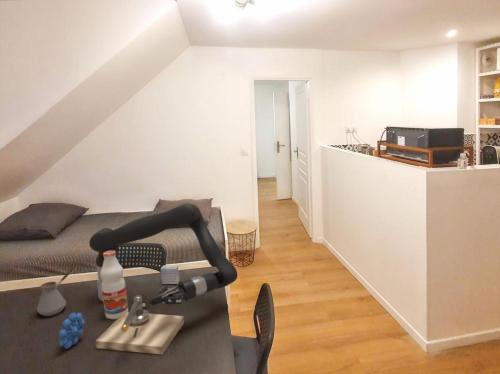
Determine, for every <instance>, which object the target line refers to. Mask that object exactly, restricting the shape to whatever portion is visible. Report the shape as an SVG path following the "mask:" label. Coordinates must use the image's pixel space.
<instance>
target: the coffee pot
mask: <svg viewBox="0 0 500 374" xmlns="http://www.w3.org/2000/svg"><path fill="white" fill-rule="evenodd" d="M73 270H74V271H76V267H75V266H72V267H71V269H69V270H68V271H67V272H66V273H65V274H64V275H63V276H62V278H61V279H60V281H59V282H57V281H47V282H44V283H42V284H41V285H40V286H39V288H40V289H41V294H40V297H39V301H38V304H37V308H36V311H37V312H38V314H40V315H42V316H44V317H51V316H55V315H58V314H59V313H61V312H62V311H63V310H64V309H65V307H66V305H67V300H66V299H65V298H64V297H63V295H62V294H61V293H60V291H59V290H58V287H59V286H60V284H62V282H63V281H64V280H65V279H66V278H67V277H68V276H69V275H70V274H71V272H73Z"/></svg>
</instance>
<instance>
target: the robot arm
mask: <svg viewBox="0 0 500 374" xmlns="http://www.w3.org/2000/svg"><path fill="white" fill-rule="evenodd" d="M179 226H189V228H190V229H191V230H192V231H193V233H194V234H195V236H196V238H197V241H198V244H199V246H200V249H201V252H202V254H203V255H204V258H205V259H206V261H207V262H208V263H209V265H210V267H213V268H216V269H217V270H218V271H217V272H212V273H211V272H210V273H206V274H202V275H199V276H194V277H192V278H189V279H188V278H187V279H185V280H183V281H182V280H181V281H179V282H178V284H177V286H173V287H169V285H165V286H164V287H163V288H162V289H161V290H160V291H159V292H158V295H157V296H155V297H151V298H150V299H149V303H150V305H151V306H156V305H158V304H161V303H162V304H165V305H181V304H182V301H184V302H186V301H189V300H192V299H195V298H197V297H198V298H199V297H200V296H202V295H204V294H206V293H208V292H209V293H210V292H212V291H214V290H218V289H221V288H225V287H227V286H230V285H231V284H233V283H234V282H236V281H237V279H238V275H239V274H238V271H237V269H236V267H235V266H234V264H233V263H232V262H231V261H230V260H229V259H228V258H227V257H226V256H225V255H224V254H223V251H222V250H221V248H220V247H219V246H218V244H217V242H216V241H215V239H214V237H213V236H212V234H211V232H210V230H209V228H208V226H207V224H206V222H205V219H204V216H203V213H202V212H201V210H200V208H199V206H197V205H196V204H194V203H193V204H192V203H183V204H182V203H181V204H180V205H178V206H175V207H174V208H171V209H168V210H167V211H164V212H160V213H154V214H151V215H150V214H149V215H146V216H144V217H140V218H137V219H134V220H132V221H128V223H125V224H124V225H122V226H119V227H117V228H115V229H111V228H109V227H104V228H102V229H100V230H98V231H97V232H95V233H94V234H93V235H92V236H91V237H90V238H89V240H88V241H89V243H88V244H89V247H90V249H92V251H94V252H96V253H98V254H97V257H96V259H95V265H96V270H97V271H96V272H97V280H96V288H97V294H98V300H99V301H101V302H103V295H102V286H101V285H102V279H101V276H100V271H101V269H102V266H103V262H104V257H103V253H104V252H106V251H110V250H114V251H115V252H116V255H115V257H116V259H117V260H118V257H119V246H121V245H124V244H128V243H133V242H137V241H141V240H144V239H148V238H151V237H153V236H156V235H158V234H160V233H162V232H163V231H165V230H168V229H171V228H174V227H179Z"/></svg>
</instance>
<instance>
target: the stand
mask: <svg viewBox="0 0 500 374" xmlns="http://www.w3.org/2000/svg"><path fill="white" fill-rule="evenodd" d="M128 313H129V311H128V312H125V313H124V314H123V315H122V316H121V317H120V318H118V319H115V321H114V322H113V323H112V324H111V325H110V326H109V327H108V328H107V329H106V330H105V331H104V332H103V333H102V334H101V335H100V336H99V337H97V339H96V340H95V346H96V349H102V350H111V351H112V350H113V351H123V352H134V353H142V354H153V355H164V353H165V352H166V350H167V349H168V347H169V346H170V345H171V343H172V342H173V340H174V338H175V337H176V336H177V335H178V333H179V331H180V330H181V329H182V327H183V325H184V324H185V318H184V317H185V316H183V315H175V314H174V315H173V314H172V315H171V314H160V313H159V314H158V313H149V320H148V321H147V322H145V323H143V324H140V325H131V324H130V325H129V327H128V330H127V331H126V332H123V331H122V330H121V327H122V325H123V323H124V321H125V319H126V317H127V315H128Z"/></svg>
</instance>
